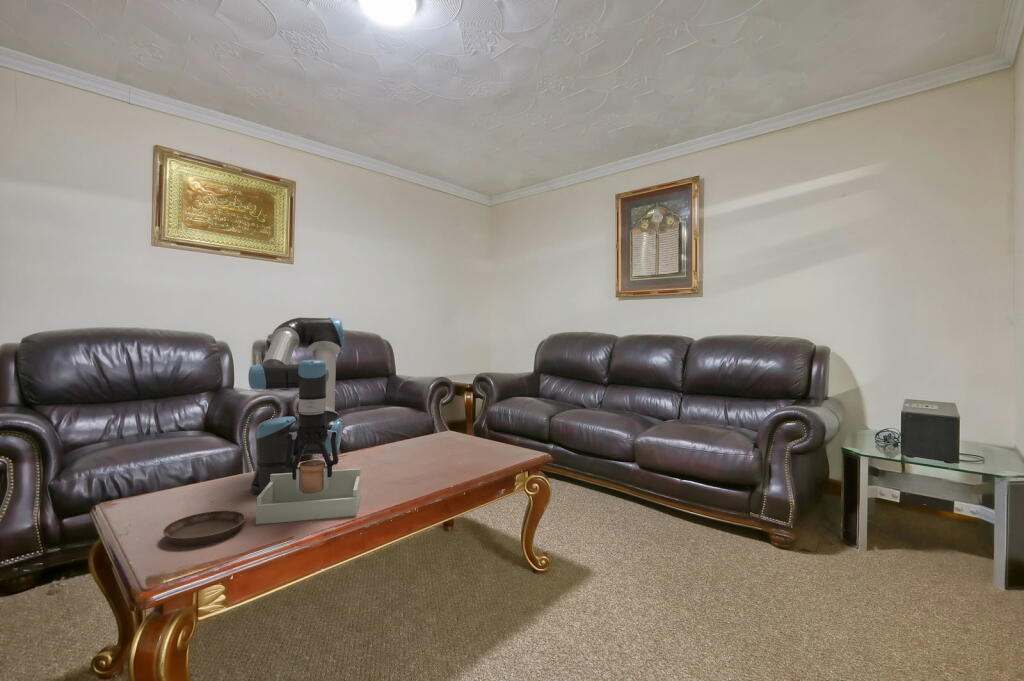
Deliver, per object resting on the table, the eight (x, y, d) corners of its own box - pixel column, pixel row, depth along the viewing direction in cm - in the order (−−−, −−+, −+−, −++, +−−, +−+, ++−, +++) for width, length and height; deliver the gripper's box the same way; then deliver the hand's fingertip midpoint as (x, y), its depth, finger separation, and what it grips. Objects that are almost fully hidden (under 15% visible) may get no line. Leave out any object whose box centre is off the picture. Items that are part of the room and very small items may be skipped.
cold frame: (271, 503, 140) (271, 474, 140) (360, 496, 147) (360, 468, 146) (255, 524, 125) (255, 491, 124) (356, 515, 131) (356, 484, 131)
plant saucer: (236, 515, 131) (236, 504, 131) (252, 535, 118) (252, 523, 118) (158, 533, 119) (158, 521, 119) (167, 557, 106) (167, 544, 106)
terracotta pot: (302, 486, 139) (302, 460, 138) (326, 485, 140) (326, 459, 140) (297, 495, 132) (297, 467, 132) (323, 493, 134) (323, 466, 133)
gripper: (272, 415, 129) (272, 496, 130) (346, 413, 134) (346, 490, 135) (278, 411, 136) (279, 487, 137) (349, 408, 141) (349, 482, 142)
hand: (312, 488), depth 136 cm, fingers closed on terracotta pot, 7 cm apart
